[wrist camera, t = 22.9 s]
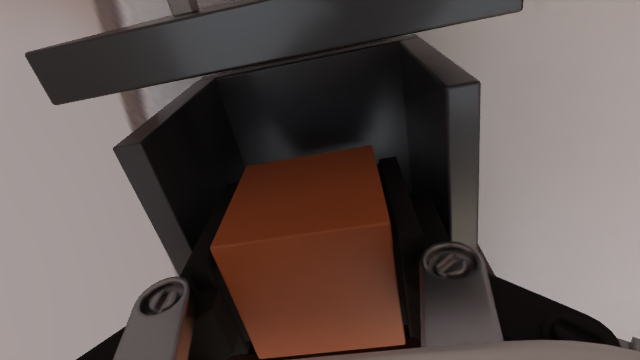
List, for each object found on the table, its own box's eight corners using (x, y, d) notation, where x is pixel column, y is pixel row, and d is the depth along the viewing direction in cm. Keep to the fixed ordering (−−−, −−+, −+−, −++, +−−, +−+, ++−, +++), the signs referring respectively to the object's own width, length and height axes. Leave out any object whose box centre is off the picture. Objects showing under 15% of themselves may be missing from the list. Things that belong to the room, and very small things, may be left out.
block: (246, 165, 11) (208, 248, 8) (372, 144, 11) (390, 222, 7) (277, 259, 13) (258, 360, 10) (386, 245, 13) (406, 345, 9)
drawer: (111, -132, 12) (-159, -261, 6) (421, -221, 11) (561, -529, 4) (258, 265, 21) (224, 403, 14) (441, 241, 20) (497, 380, 13)
